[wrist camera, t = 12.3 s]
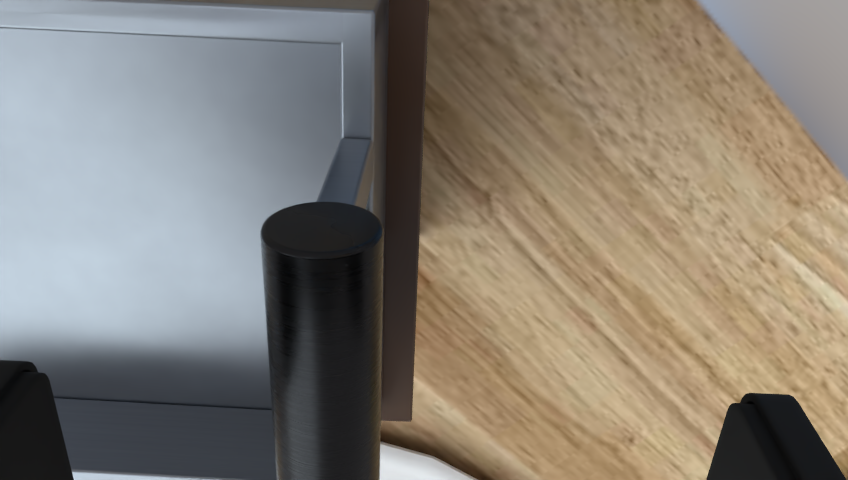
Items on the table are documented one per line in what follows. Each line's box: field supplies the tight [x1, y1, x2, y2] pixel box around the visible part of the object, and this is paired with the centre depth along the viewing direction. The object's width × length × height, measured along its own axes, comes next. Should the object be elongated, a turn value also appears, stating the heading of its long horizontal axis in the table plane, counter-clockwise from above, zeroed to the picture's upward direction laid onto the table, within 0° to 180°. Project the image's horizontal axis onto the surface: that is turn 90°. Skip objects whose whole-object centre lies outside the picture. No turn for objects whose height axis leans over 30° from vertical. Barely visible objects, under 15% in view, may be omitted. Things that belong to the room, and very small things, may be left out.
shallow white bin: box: [0, 0, 389, 480], centre depth 14 cm, size 12×11×8 cm
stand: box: [381, 0, 429, 422], centre depth 23 cm, size 12×12×11 cm
